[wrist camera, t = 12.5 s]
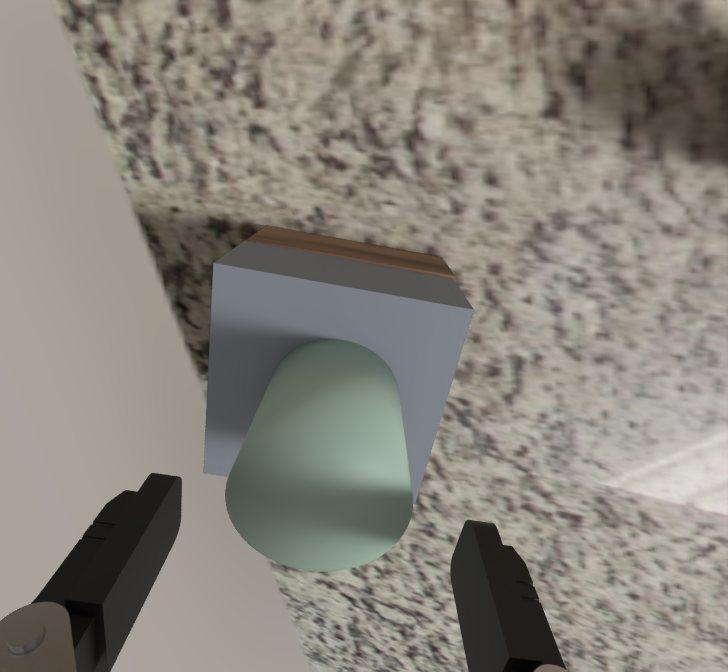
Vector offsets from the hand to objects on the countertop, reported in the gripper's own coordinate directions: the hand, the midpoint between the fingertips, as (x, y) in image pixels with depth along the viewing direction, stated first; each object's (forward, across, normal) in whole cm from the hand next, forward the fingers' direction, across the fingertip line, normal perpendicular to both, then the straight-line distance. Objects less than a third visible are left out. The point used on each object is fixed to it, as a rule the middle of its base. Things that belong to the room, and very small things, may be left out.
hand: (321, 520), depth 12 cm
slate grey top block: (+11, 0, 0) cm, 11 cm away
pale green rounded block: (+7, 0, 0) cm, 7 cm away
